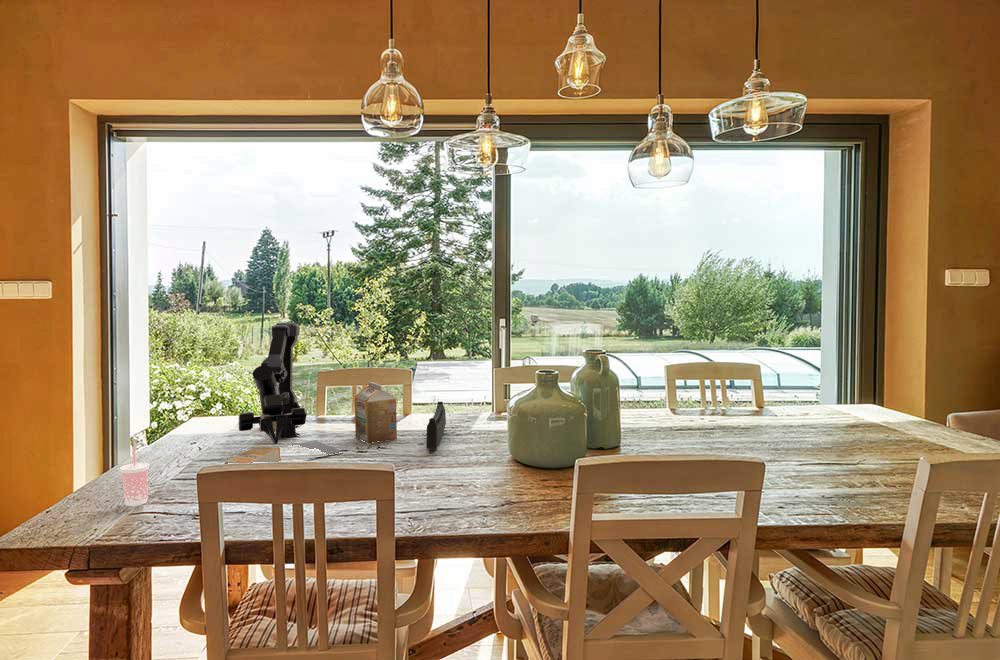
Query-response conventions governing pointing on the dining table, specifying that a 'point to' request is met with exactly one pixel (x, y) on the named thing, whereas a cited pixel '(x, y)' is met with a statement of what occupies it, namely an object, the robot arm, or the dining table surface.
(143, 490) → the beverage cup
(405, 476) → the dining table surface
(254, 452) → the supplement box
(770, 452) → the dining table surface
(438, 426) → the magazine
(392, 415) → the milk carton
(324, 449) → the rubber mat
